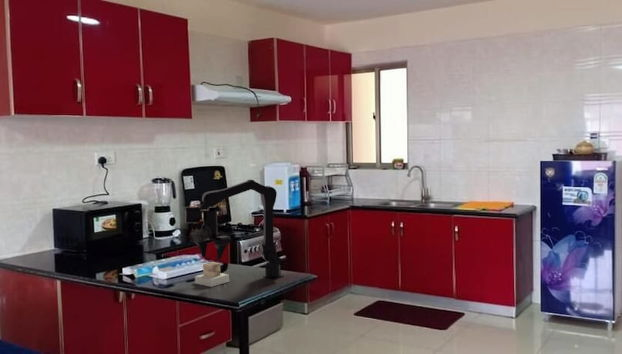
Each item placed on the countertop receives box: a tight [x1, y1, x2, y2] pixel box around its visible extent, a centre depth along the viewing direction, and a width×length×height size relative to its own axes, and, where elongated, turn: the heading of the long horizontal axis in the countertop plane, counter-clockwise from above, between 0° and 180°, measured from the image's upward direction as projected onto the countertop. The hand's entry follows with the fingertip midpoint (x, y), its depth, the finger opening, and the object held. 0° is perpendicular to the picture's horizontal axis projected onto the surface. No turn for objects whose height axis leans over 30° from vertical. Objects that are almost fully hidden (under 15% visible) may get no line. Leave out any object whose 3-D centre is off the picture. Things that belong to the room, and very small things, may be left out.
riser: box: [194, 272, 230, 288], centre depth 243 cm, size 10×10×3 cm
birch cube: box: [202, 261, 221, 277], centre depth 243 cm, size 5×5×5 cm
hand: (211, 258), depth 242 cm, fingers open, 9 cm apart
